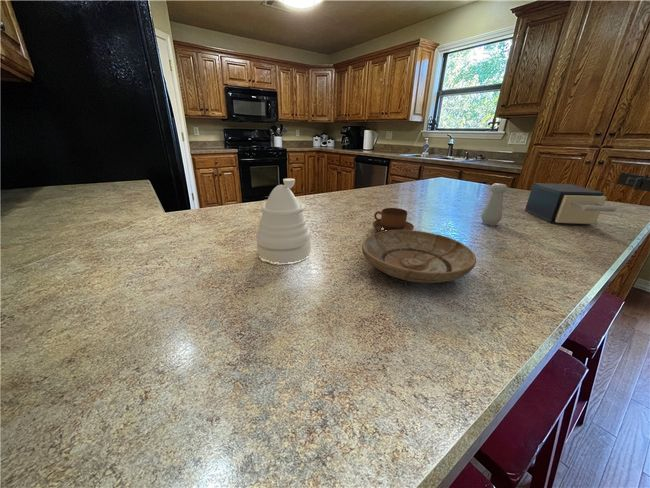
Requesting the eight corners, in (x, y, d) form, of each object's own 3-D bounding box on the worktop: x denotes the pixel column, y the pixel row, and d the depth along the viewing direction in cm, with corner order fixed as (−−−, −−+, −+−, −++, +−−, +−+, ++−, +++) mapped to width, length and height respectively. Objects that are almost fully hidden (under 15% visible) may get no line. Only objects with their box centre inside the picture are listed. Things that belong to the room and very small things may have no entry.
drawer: (612, 230, 80) (625, 202, 77) (571, 229, 81) (582, 200, 78) (565, 212, 98) (574, 188, 95) (532, 210, 99) (539, 187, 96)
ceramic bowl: (498, 282, 54) (504, 260, 52) (401, 308, 46) (405, 283, 44) (420, 241, 74) (423, 224, 72) (343, 253, 66) (344, 234, 64)
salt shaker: (503, 226, 85) (515, 186, 80) (485, 226, 85) (496, 185, 80) (493, 221, 91) (503, 182, 86) (476, 220, 91) (485, 182, 86)
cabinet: (590, 224, 88) (604, 192, 84) (549, 222, 89) (561, 191, 85) (559, 212, 102) (570, 184, 97) (524, 210, 103) (533, 183, 99)
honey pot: (317, 246, 70) (317, 176, 63) (300, 268, 59) (297, 186, 52) (272, 240, 73) (267, 173, 66) (247, 260, 62) (238, 182, 55)
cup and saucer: (370, 236, 77) (372, 215, 74) (373, 223, 88) (375, 204, 85) (414, 240, 74) (417, 219, 72) (411, 226, 85) (414, 207, 83)
